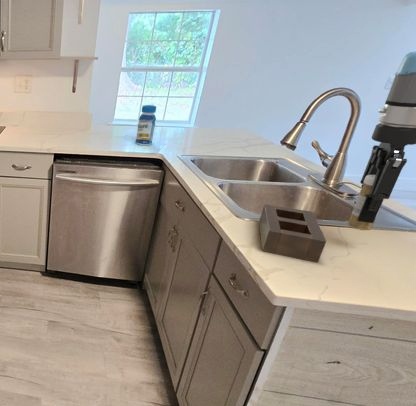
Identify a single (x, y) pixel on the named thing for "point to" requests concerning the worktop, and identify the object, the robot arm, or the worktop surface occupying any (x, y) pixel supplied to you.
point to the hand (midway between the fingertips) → (362, 217)
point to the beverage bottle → (146, 125)
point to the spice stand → (291, 233)
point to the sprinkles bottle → (359, 204)
